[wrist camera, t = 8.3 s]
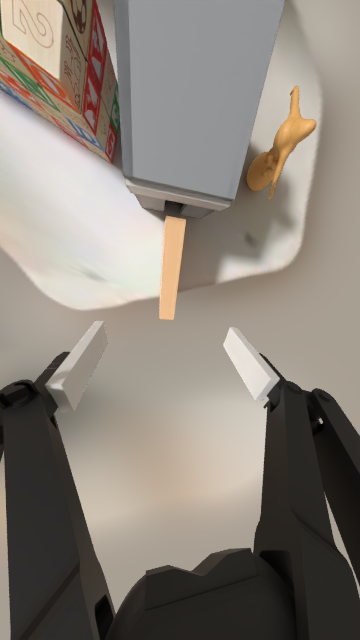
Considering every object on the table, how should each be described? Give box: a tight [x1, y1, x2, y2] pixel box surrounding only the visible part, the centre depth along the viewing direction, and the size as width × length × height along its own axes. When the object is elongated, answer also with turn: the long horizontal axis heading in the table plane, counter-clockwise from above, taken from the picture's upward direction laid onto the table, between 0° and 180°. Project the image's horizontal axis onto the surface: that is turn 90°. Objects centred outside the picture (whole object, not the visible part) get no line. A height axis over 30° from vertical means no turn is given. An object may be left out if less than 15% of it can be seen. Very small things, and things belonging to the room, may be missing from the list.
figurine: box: [247, 86, 316, 200], centre depth 17 cm, size 8×6×12 cm
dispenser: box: [114, 0, 285, 218], centre depth 15 cm, size 12×10×13 cm
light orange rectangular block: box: [159, 216, 186, 320], centre depth 23 cm, size 14×2×9 cm, turn 172°
